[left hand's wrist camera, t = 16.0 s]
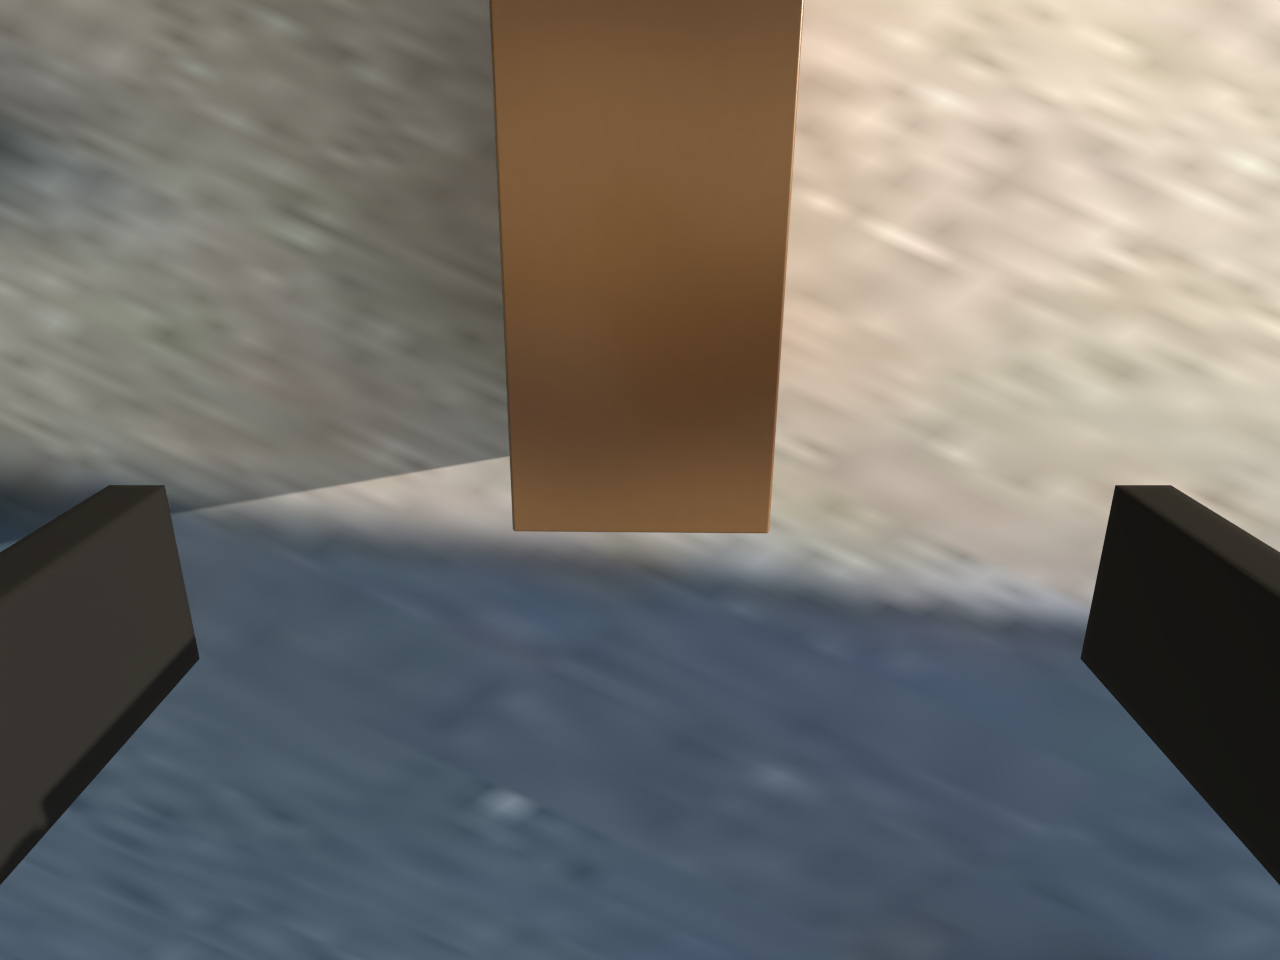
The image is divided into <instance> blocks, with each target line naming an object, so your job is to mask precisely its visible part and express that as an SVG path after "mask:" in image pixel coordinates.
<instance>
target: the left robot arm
mask: <svg viewBox="0 0 1280 960" xmlns="http://www.w3.org/2000/svg"><path fill="white" fill-rule="evenodd" d="M198 660H199V654H198V649H197V644H196V639H195V634H194V629H193V624H192V619H191V615H190V610H189V605H188V600H187V595H186V590H185V585H184V580H183V575H182V570H181V565H180V560H179V555H178V550H177V545H176V540H175V535H174V530H173V525H172V520H171V515H170V510H169V505H168V500H167V495H166V490H165V485H109V486H107V487H106V488H104V489H102V490H101V491H99V492H98V493H96V494H94V495H93V496H91V497H89V498H88V499H86V500H85V501H83V502H81V503H80V504H78V505H76V506H75V507H73V508H72V509H70V510H68V511H67V512H65V513H63V514H62V515H60V516H59V517H57V518H55V519H54V520H52V521H50V522H49V523H47V524H46V525H44V526H42V527H41V528H39V529H37V530H36V531H34V532H33V533H31V534H29V535H28V536H26V537H25V538H23V539H21V540H20V541H18V542H16V543H15V544H13V545H12V546H10V547H8V548H7V549H5V550H3V551H2V552H0V885H1V883H2V882H3V881H4V880H5V879H6V878H7V877H8V876H9V874H10V873H11V872H12V871H13V870H14V869H15V868H16V866H17V865H18V864H19V863H20V862H21V861H22V860H23V859H24V857H25V856H26V855H27V854H28V853H29V852H30V851H31V849H32V848H33V847H34V846H35V845H36V844H37V843H38V841H39V840H40V839H41V838H42V837H43V836H44V835H45V834H46V832H47V831H48V830H49V829H50V828H51V827H52V826H53V824H54V823H55V822H56V821H57V820H58V819H59V818H60V816H61V815H62V814H63V813H64V812H65V811H66V810H67V809H68V807H69V806H70V805H71V804H72V803H73V802H74V801H75V799H76V798H77V797H78V796H79V795H80V794H81V793H82V791H83V790H84V789H85V788H86V787H87V786H88V785H89V784H90V782H91V781H92V780H93V779H94V778H95V777H96V776H97V774H98V773H99V772H100V771H101V770H102V769H103V768H104V766H105V765H106V764H107V763H108V762H109V761H110V760H111V759H112V757H113V756H114V755H115V754H116V753H117V752H118V751H119V749H120V748H121V747H122V746H123V745H124V744H125V743H126V742H127V740H128V739H129V738H130V737H131V736H132V735H133V734H134V732H135V731H136V730H137V729H138V728H139V727H140V726H141V724H142V723H143V722H144V721H145V720H146V719H147V718H148V717H149V715H150V714H151V713H152V712H153V711H154V710H155V709H156V707H157V706H158V705H159V704H160V703H161V702H162V701H163V699H164V698H165V697H166V696H167V695H168V694H169V693H170V692H171V690H172V689H173V688H174V687H175V686H176V685H177V684H178V682H179V681H180V680H181V679H182V678H183V677H184V676H185V674H186V673H187V672H188V671H189V670H190V669H191V668H192V667H193V665H194V664H195V663H196V662H197V661H198ZM1081 660H1082V661H1083V662H1084V663H1085V664H1086V665H1087V667H1088V668H1089V669H1090V670H1091V671H1092V672H1093V673H1094V674H1095V676H1096V677H1097V678H1098V679H1099V680H1100V681H1101V682H1102V684H1103V685H1104V686H1105V687H1106V688H1107V689H1108V690H1109V692H1110V693H1111V694H1112V695H1113V696H1114V697H1115V698H1116V699H1117V701H1118V702H1119V703H1120V704H1121V705H1122V706H1123V707H1124V709H1125V710H1126V711H1127V712H1128V713H1129V714H1130V715H1131V717H1132V718H1133V719H1134V720H1135V721H1136V722H1137V723H1138V724H1139V726H1140V727H1141V728H1142V729H1143V730H1144V731H1145V732H1146V734H1147V735H1148V736H1149V737H1150V738H1151V739H1152V740H1153V742H1154V743H1155V744H1156V745H1157V746H1158V747H1159V748H1160V749H1161V751H1162V752H1163V753H1164V754H1165V755H1166V756H1167V757H1168V759H1169V760H1170V761H1171V762H1172V763H1173V764H1174V765H1175V766H1176V768H1177V769H1178V770H1179V771H1180V772H1181V773H1182V774H1183V776H1184V777H1185V778H1186V779H1187V780H1188V781H1189V782H1190V784H1191V785H1192V786H1193V787H1194V788H1195V789H1196V790H1197V791H1198V793H1199V794H1200V795H1201V796H1202V797H1203V798H1204V799H1205V801H1206V802H1207V803H1208V804H1209V805H1210V806H1211V807H1212V809H1213V810H1214V811H1215V812H1216V813H1217V814H1218V815H1219V816H1220V818H1221V819H1222V820H1223V821H1224V822H1225V823H1226V824H1227V826H1228V827H1229V828H1230V829H1231V830H1232V831H1233V832H1234V834H1235V835H1236V836H1237V837H1238V838H1239V839H1240V840H1241V841H1242V843H1243V844H1244V845H1245V846H1246V847H1247V848H1248V849H1249V851H1250V852H1251V853H1252V854H1253V855H1254V856H1255V857H1256V859H1257V860H1258V861H1259V862H1260V863H1261V864H1262V865H1263V866H1264V868H1265V869H1266V870H1267V871H1268V872H1269V873H1270V874H1271V876H1272V877H1273V878H1274V879H1275V880H1276V881H1277V882H1278V884H1279V885H1280V552H1278V551H1277V550H1275V549H1273V548H1272V547H1270V546H1268V545H1267V544H1265V543H1264V542H1262V541H1260V540H1259V539H1257V538H1255V537H1254V536H1252V535H1251V534H1249V533H1247V532H1246V531H1244V530H1243V529H1241V528H1239V527H1238V526H1236V525H1234V524H1233V523H1231V522H1230V521H1228V520H1226V519H1225V518H1223V517H1221V516H1220V515H1218V514H1217V513H1215V512H1213V511H1212V510H1210V509H1208V508H1207V507H1205V506H1204V505H1202V504H1200V503H1199V502H1197V501H1195V500H1194V499H1192V498H1191V497H1189V496H1187V495H1186V494H1184V493H1182V492H1181V491H1179V490H1178V489H1176V488H1174V487H1173V486H1171V485H1115V490H1114V495H1113V500H1112V505H1111V510H1110V515H1109V520H1108V525H1107V530H1106V535H1105V540H1104V545H1103V550H1102V555H1101V560H1100V565H1099V570H1098V575H1097V580H1096V585H1095V590H1094V595H1093V600H1092V605H1091V610H1090V615H1089V619H1088V624H1087V629H1086V634H1085V639H1084V644H1083V649H1082V654H1081Z"/></svg>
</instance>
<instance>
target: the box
mask: <svg viewBox="0 0 1280 960" xmlns="http://www.w3.org/2000/svg"><path fill="white" fill-rule="evenodd" d="M489 5H490V27H491V49H492V72H493V94H494V116H495V139H496V161H497V183H498V205H499V228H500V250H501V272H502V294H503V317H504V339H505V361H506V384H507V406H508V428H509V450H510V473H511V495H512V517H513V530H514V531H563V532H684V533H768V532H769V523H770V508H771V493H772V478H773V463H774V448H775V432H776V417H777V402H778V387H779V372H780V357H781V341H782V326H783V311H784V296H785V281H786V266H787V251H788V235H789V220H790V205H791V190H792V175H793V160H794V144H795V129H796V114H797V99H798V84H799V69H800V53H801V38H802V23H803V8H804V0H489Z"/></svg>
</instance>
